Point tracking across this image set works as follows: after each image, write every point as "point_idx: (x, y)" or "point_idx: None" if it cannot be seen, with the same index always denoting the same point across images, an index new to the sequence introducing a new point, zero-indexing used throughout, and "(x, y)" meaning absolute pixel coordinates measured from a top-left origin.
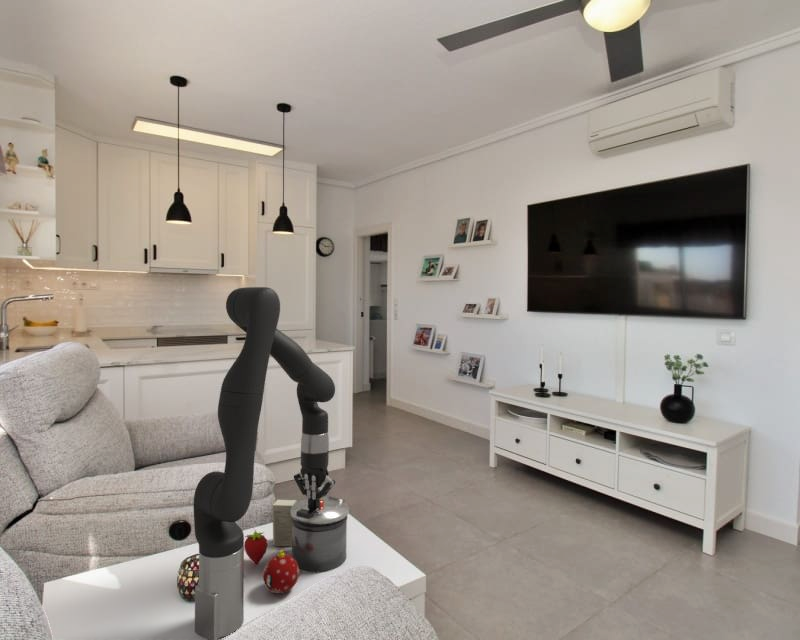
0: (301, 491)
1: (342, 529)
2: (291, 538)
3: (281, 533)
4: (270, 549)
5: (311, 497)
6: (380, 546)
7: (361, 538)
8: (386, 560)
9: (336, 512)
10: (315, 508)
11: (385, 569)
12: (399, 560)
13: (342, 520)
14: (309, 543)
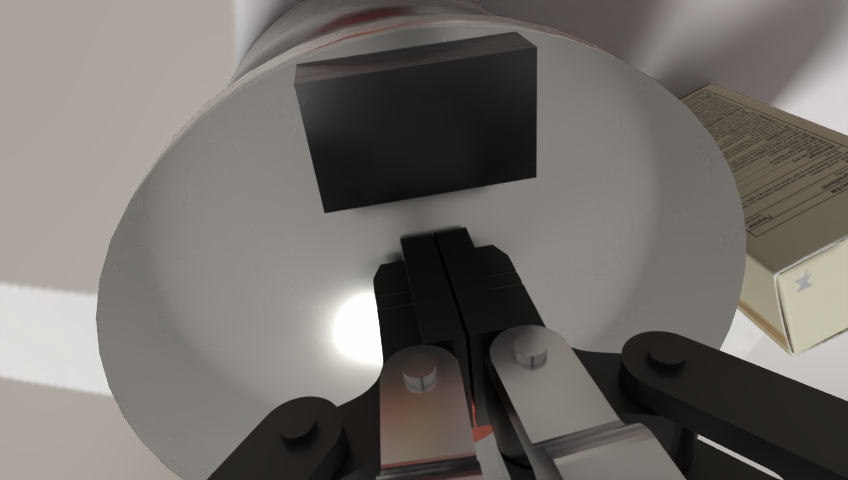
0: (721, 359)
1: None
2: None
3: (710, 132)
4: (703, 40)
5: (490, 365)
6: None
7: None
8: (83, 344)
9: (217, 393)
10: (387, 282)
11: (4, 286)
12: (35, 380)
13: None
14: (308, 27)
